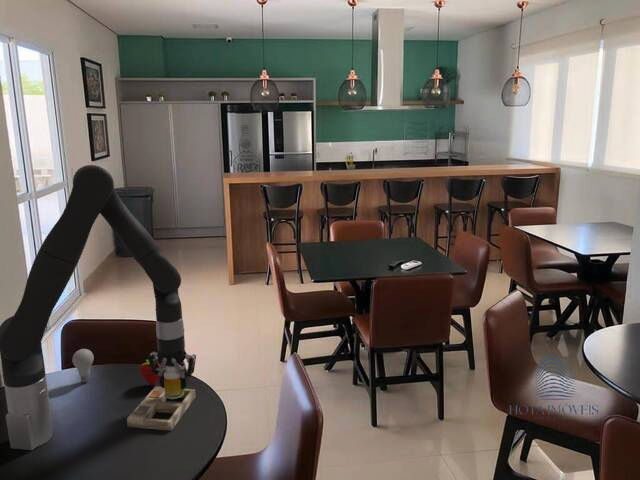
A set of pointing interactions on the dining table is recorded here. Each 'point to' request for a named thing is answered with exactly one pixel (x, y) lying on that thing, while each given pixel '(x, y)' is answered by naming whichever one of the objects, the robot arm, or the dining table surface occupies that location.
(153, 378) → the strawberry
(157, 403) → the socket plate
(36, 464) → the dining table surface
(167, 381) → the supplement bottle
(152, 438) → the dining table surface
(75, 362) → the lightbulb
